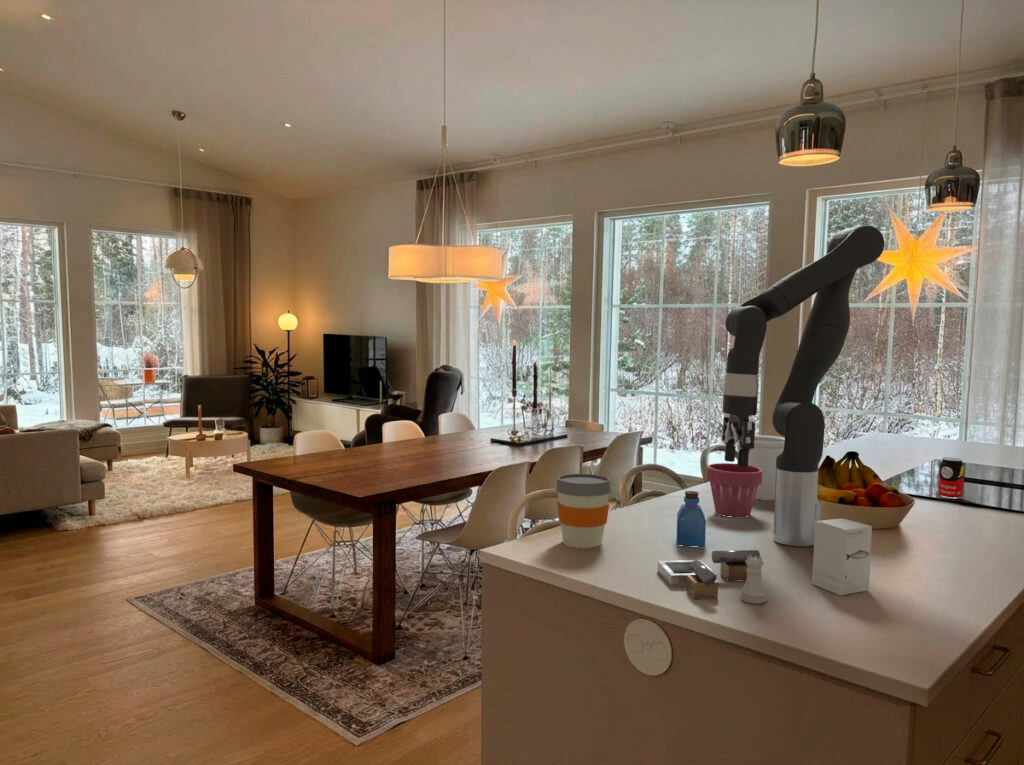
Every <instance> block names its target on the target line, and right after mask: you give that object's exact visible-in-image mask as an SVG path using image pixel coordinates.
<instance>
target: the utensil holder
mask: <svg viewBox="0 0 1024 765" xmlns="http://www.w3.org/2000/svg"><path fill="white" fill-rule="evenodd" d="M784 442H785V437H783V436H774V435H764V434H763V435H762V434H761V435H760V434H759V435H758V434H755V438H754V448H753V449H751V450H750V451H749V459H748V465H750V466H754V467H758V468H760V469H761V470H762V483H761V484H760V485H758V488H757V492H756V496H755V500H757V499H761V500H760V501H775V480H776V458H777V456H778V455H779V454H781V453H782V452H783V450H784ZM741 443H742V442H741Z"/></svg>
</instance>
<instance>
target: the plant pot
mask: <svg viewBox="0 0 1024 765" xmlns="http://www.w3.org/2000/svg"><path fill="white" fill-rule="evenodd" d="M706 471H707V472H706V479H707V481H709V484H710V489H711V494H712V500H713V505H714V512H715V514H716V513H718V514H721V515H725V516H732V517H745V518H747V517H746V516H749V517H750V516H751V513H752V509H753V507H754V503H755V500H756V499H755V496H756V492H757V488H758V485H760V484H761V483H762V470H761V469H760V468H758V467H754V466H750V465H748V466H747V467H739V466H738V465H737V463H733V462H731V463H728V462H727V463H725V462H724V463H723V462H721V463H711V464H708V465H707V468H706ZM718 514H717V515H718ZM721 515H720V516H721Z"/></svg>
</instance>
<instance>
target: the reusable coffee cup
mask: <svg viewBox="0 0 1024 765" xmlns="http://www.w3.org/2000/svg"><path fill="white" fill-rule="evenodd" d="M555 487H556V488H555V490H556V492H557V498H558V500H557V502H556V505H557V514H558V515H557V516H558V522H559V523H560V527H561V533H562V534H561V536H562V543H563V544H564V545H565V546H567V547H571V548H575V549H576V548H577V549H592V548H593V547H594V548H598V547H600V546H602V544H603V537H604V531H605V525H606V524H607V522H608V517H609V509H610V503H609V496H610V494H611V491H612V490H611V480H610V478H609V477H608V476H605V475H602V474H601V475H600V474H593V473H568V474H562V475H559V476H557V479H556V486H555ZM597 546H598V547H597ZM594 548H593V549H594Z"/></svg>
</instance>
